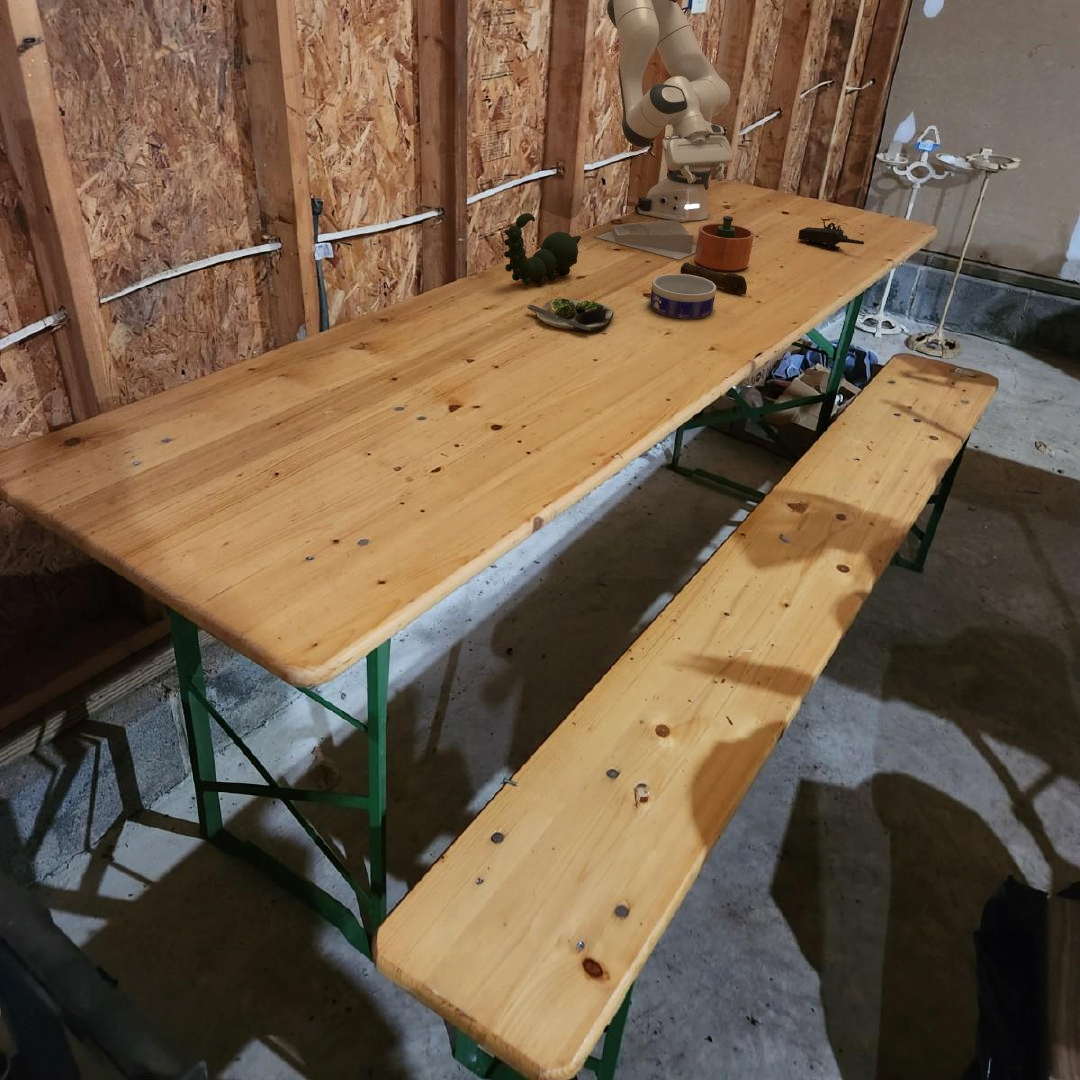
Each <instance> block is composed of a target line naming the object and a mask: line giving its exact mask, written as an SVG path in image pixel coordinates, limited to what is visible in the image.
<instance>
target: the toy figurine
mask: <svg viewBox="0 0 1080 1080" xmlns="http://www.w3.org/2000/svg"><path fill="white" fill-rule="evenodd" d="M530 221H531V222H535V221H536V218H535V216H534V214H532V213H529V212H524V213H521V214H520V215H518V217H517V218H516V220H515V224H514V225H513V224H512V225H510V226H509V227H508V229H505V230H504V235H505V236H507V237H508V238H506V239H505V240H504V241H503V244H504V245H505V246H507V247H508V250H506V251H504V253H503V256H504V257H505V258H507V259H508V258H509V263H507V264H505V267H504V269H505V271H507V272H509V273H510V272H512V274H511V279H512V280H513V281H515V282H517V281H519V280H521V281H522V284H523V285H525V286H529V285H530V284H531V283H535V285H537V286H539V287H541V286H543V285H544V283H545V279H544V278H547V280H548V281H551V282H554V281H556V280H557V279H558V275H559V276H560V277H564V276H568V275H570V272H571V268H572V267H573V266H574V265H576V264H577V263H578V256H579V247H578V244H579V242H580V240H581V239H582V236H581V235H575V236H572V235H570V234H569V233H568V232H565V231H555V232H552V233H550V234H548V235H547V236H546V237H545V238H544V239H543V241H542V243H541V246H540V249H539V250H537V251H536V252H535V253H533V255H532V256H530V257H527V256H526V255H527V253H526V252H527V251H526V249H525V247H524V242H525V241H524V238H523V232H522V229H523V228H524V227H525V226H527V224H528V223H529V222H530Z"/></svg>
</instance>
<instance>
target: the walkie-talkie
mask: <svg viewBox="0 0 1080 1080" xmlns="http://www.w3.org/2000/svg"><path fill="white" fill-rule="evenodd" d="M842 230H843V229H841V230H838V228H836V229H832V228H831V229H827V228H824V227H812V226H811V227H810V226H807V227H804V228H801V229H799V231H798V238H797V239H798V240H801V241H806V242H807V244H808V245H812V246H816V247H819V248H823V249H828V250H833V251H836V250H839V249H840V248H841V247H840V246H838V244H840V243H841V244H842V243H846V244H856V245H861V246H862V245H864V244H865V241H863V240H858V239H853V238H849V237H848V235H844V233H843V231H844V230H843V231H842Z"/></svg>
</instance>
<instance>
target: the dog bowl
mask: <svg viewBox="0 0 1080 1080" xmlns="http://www.w3.org/2000/svg"><path fill="white" fill-rule="evenodd" d="M716 292H717V286H716V285H715V284H714V283H713V282H711V281H710V280H707V279H705V278H702V277H698V276H694V275H687V274H680V273H667V274H661V275H657V276H656V277H654V278H653V279H652V283H651V291H650V302H649V305H650V308H651V310H653V311H654V312H656V313H657V314H661V315H662V316H665V317H669V318H675V319H682V320H683V319H684V320H686V319H687V320H692V319H693V320H695V319H701V318H706V317H708V316H709V315H711V314H712V312H713V310H714V309H713V308H714V304H715V299H716V294H717V293H716Z"/></svg>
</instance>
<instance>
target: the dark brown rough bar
mask: <svg viewBox="0 0 1080 1080" xmlns="http://www.w3.org/2000/svg"><path fill="white" fill-rule="evenodd" d="M679 270H680V273H679V274H687V275H694V276H698V277H702V278H705V279H707V280H710V281H711V282H713V283H714V284H715V285H716V287H718V288H721V289H722V290H723V291H724V292H726V293H731V294H735V295H736V294H737V295H746V294H747V290H748V285H747V280H746V278H745V276H743V275H740V274H737V273H734V272H727V273H722V272H718V271H715V270H712V269H708V268H705V267H701V266H697V265H694V264H691V263H690V262H684V263H683V264H682V266H681V267H680V269H679Z"/></svg>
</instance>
